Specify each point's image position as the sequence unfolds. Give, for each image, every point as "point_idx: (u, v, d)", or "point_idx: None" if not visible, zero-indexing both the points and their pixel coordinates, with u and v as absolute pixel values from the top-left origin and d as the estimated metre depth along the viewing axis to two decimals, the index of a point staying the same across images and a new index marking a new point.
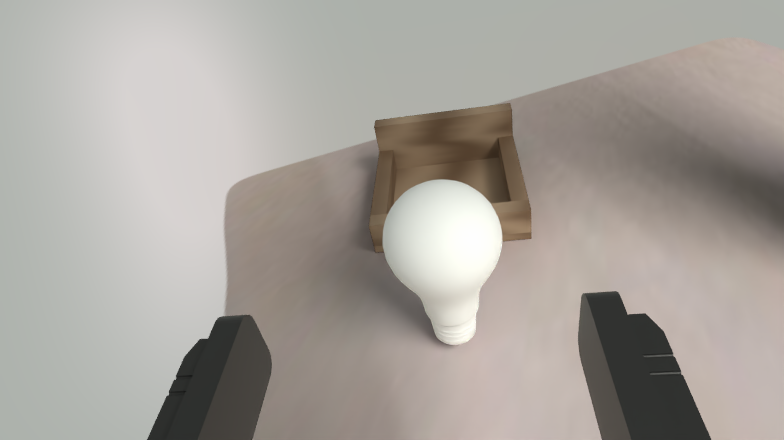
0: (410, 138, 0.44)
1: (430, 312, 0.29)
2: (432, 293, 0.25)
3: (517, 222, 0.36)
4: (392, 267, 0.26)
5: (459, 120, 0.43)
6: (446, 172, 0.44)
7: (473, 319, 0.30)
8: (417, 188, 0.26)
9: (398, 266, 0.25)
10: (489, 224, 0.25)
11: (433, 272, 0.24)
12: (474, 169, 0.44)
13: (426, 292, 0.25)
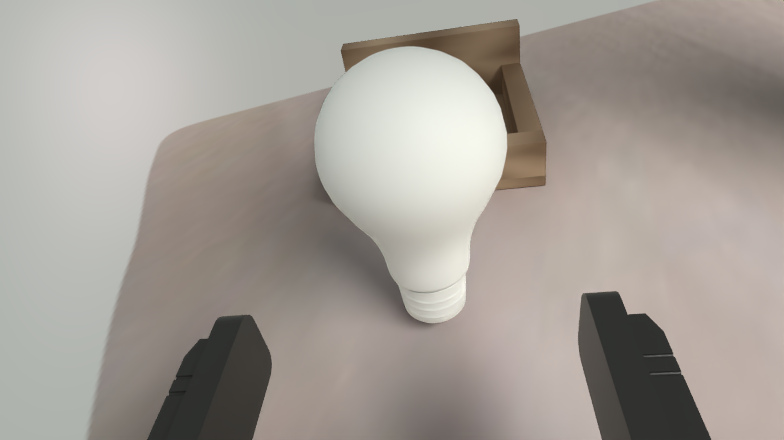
0: None
1: (394, 269, 0.19)
2: (390, 229, 0.15)
3: (527, 161, 0.26)
4: (326, 187, 0.16)
5: (450, 40, 0.33)
6: None
7: (461, 283, 0.20)
8: (368, 56, 0.16)
9: (334, 180, 0.15)
10: (486, 109, 0.15)
11: (389, 186, 0.14)
12: None
13: (380, 226, 0.15)
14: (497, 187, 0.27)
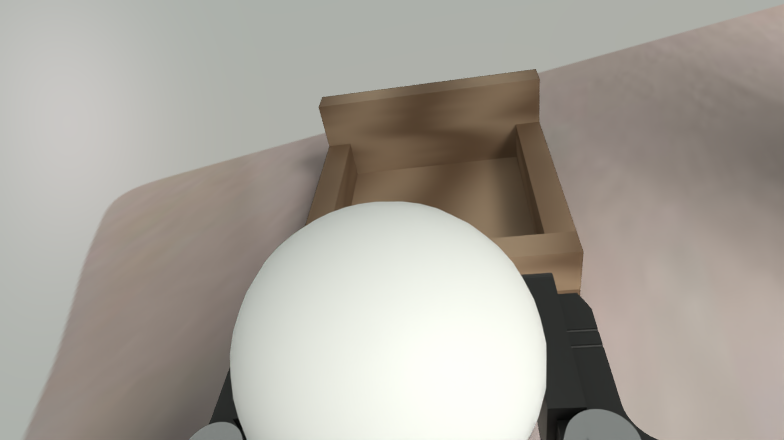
0: (376, 125, 0.28)
1: None
2: None
3: (557, 273, 0.20)
4: None
5: (454, 96, 0.27)
6: (433, 179, 0.28)
7: None
8: (314, 229, 0.09)
9: None
10: (513, 335, 0.08)
11: None
12: (478, 175, 0.28)
13: None
14: None
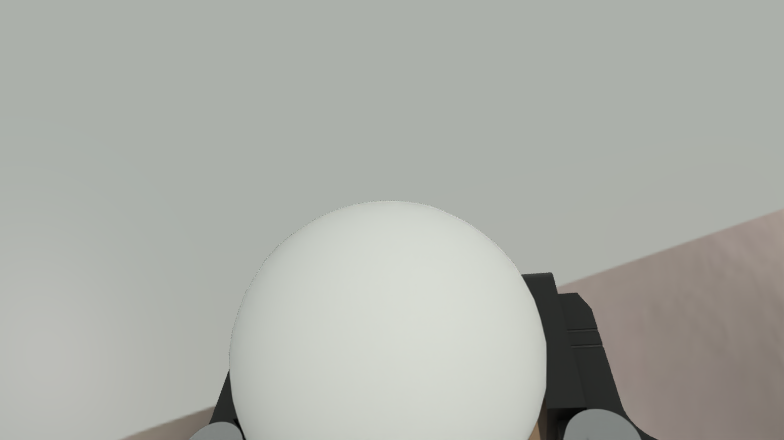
0: None
1: None
2: None
3: None
4: None
5: None
6: None
7: None
8: (313, 228, 0.09)
9: None
10: (514, 334, 0.08)
11: None
12: None
13: None
14: None
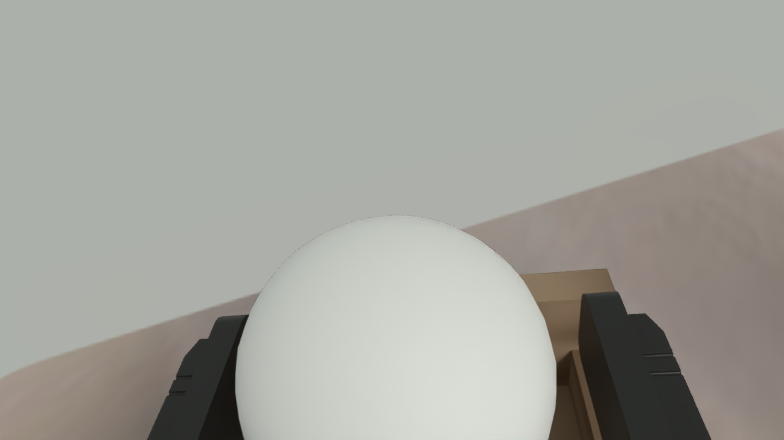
0: None
1: None
2: None
3: None
4: None
5: None
6: None
7: None
8: (323, 245, 0.09)
9: None
10: (527, 358, 0.08)
11: None
12: None
13: None
14: None
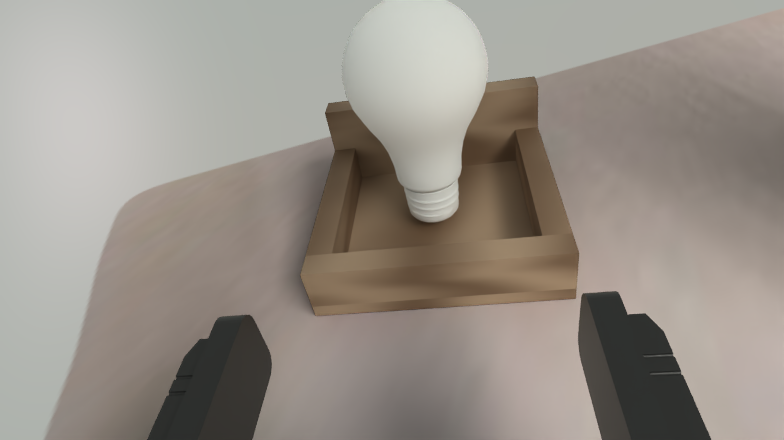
0: None
1: (402, 174, 0.24)
2: (401, 128, 0.20)
3: (554, 273, 0.21)
4: (353, 99, 0.21)
5: None
6: None
7: (455, 188, 0.25)
8: None
9: (359, 92, 0.20)
10: (471, 36, 0.20)
11: (401, 91, 0.19)
12: (479, 178, 0.29)
13: (394, 127, 0.20)
14: (516, 300, 0.22)
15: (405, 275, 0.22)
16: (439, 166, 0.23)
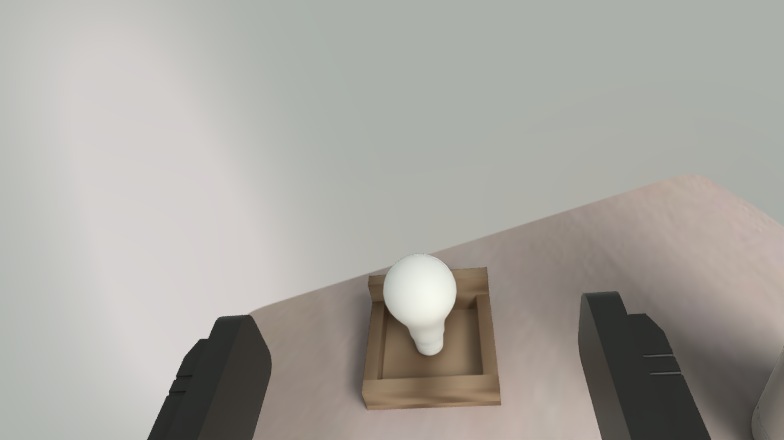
0: None
1: (413, 335, 0.45)
2: (413, 325, 0.42)
3: (488, 394, 0.42)
4: (389, 308, 0.42)
5: None
6: None
7: (441, 339, 0.46)
8: (404, 261, 0.42)
9: (393, 308, 0.42)
10: (447, 284, 0.41)
11: (413, 313, 0.41)
12: (456, 321, 0.50)
13: (410, 324, 0.42)
14: (471, 405, 0.44)
15: (415, 393, 0.43)
16: (432, 334, 0.44)
